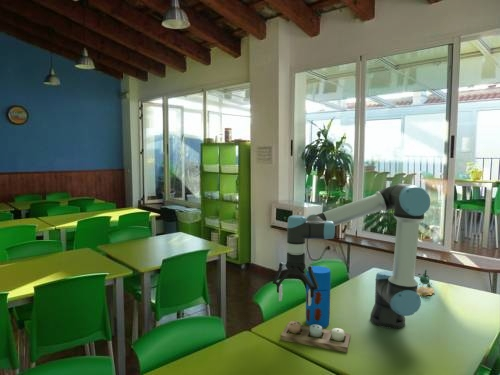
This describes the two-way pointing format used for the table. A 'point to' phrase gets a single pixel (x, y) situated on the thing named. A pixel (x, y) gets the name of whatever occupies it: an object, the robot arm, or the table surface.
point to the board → (316, 339)
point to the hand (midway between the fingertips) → (294, 302)
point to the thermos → (319, 298)
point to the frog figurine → (425, 290)
